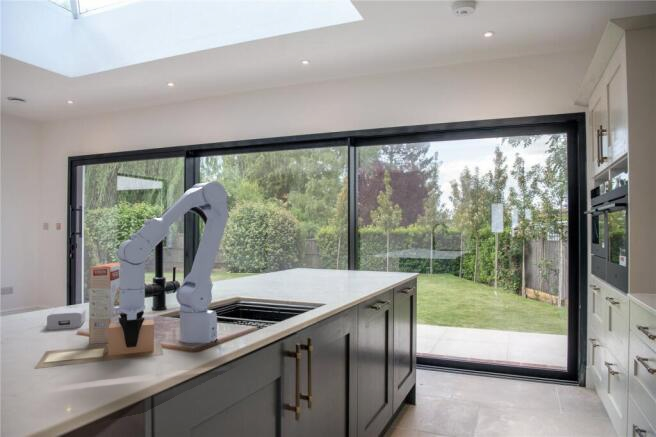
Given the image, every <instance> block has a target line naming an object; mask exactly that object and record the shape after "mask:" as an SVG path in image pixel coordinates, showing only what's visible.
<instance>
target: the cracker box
mask: <svg viewBox="0 0 656 437" xmlns="http://www.w3.org/2000/svg"><path fill="white" fill-rule="evenodd" d="M88 271H89V272H88V273H89V274H88V275H89V277H88V280H89V283H88V287H89V288H88V290H89V291H88V296H89V298H88V301H89V302H88V344H108V336H109V324H110V323H118V322H119V318H121V316H120V313H122V312H121V311H114V307H117V306H119V288H120V262H110V263H109V262H108V263H104V264H100V265H95V266H94V265H93V266H90V267H88Z"/></svg>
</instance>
